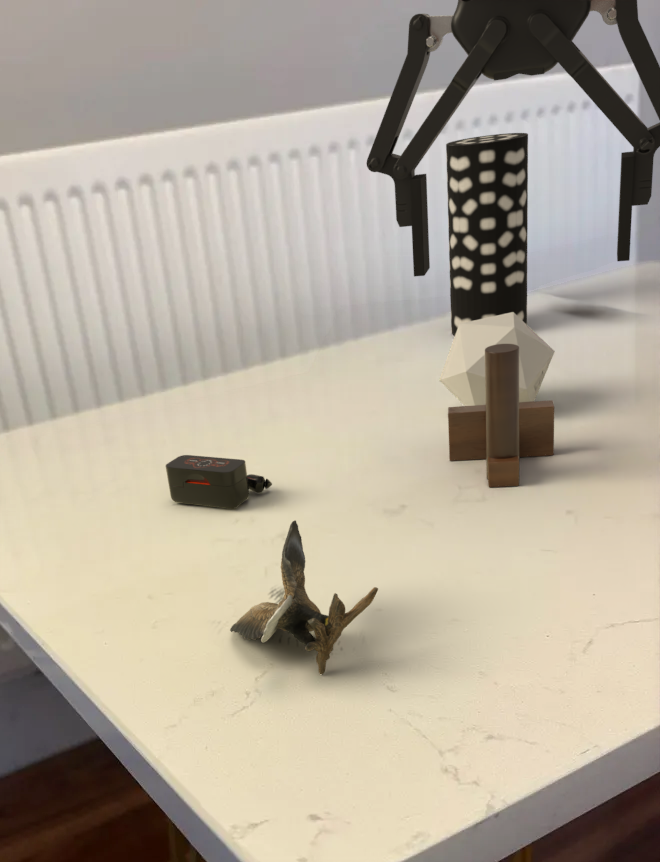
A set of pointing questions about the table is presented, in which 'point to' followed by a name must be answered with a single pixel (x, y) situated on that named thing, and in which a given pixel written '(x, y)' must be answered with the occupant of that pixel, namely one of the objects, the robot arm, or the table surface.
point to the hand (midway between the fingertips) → (519, 265)
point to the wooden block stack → (501, 422)
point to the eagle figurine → (300, 608)
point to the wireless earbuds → (212, 481)
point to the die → (469, 357)
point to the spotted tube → (487, 226)
